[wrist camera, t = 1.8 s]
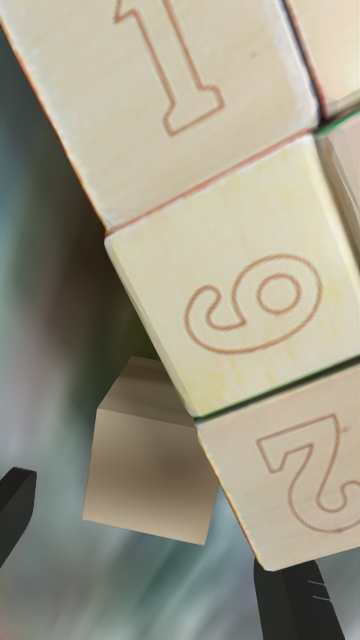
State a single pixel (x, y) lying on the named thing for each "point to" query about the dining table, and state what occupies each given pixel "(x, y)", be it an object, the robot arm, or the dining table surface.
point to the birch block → (149, 459)
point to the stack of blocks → (229, 227)
